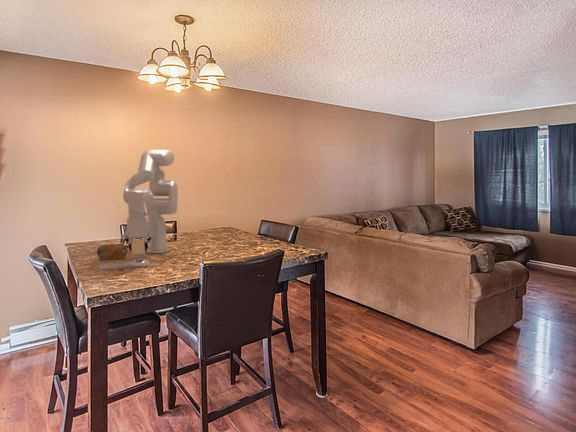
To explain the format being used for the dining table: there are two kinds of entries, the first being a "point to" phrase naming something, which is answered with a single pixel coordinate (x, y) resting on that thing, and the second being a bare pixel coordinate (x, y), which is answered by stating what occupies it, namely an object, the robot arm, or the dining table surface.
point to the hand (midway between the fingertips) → (138, 250)
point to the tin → (112, 251)
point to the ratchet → (127, 263)
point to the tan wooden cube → (138, 246)
